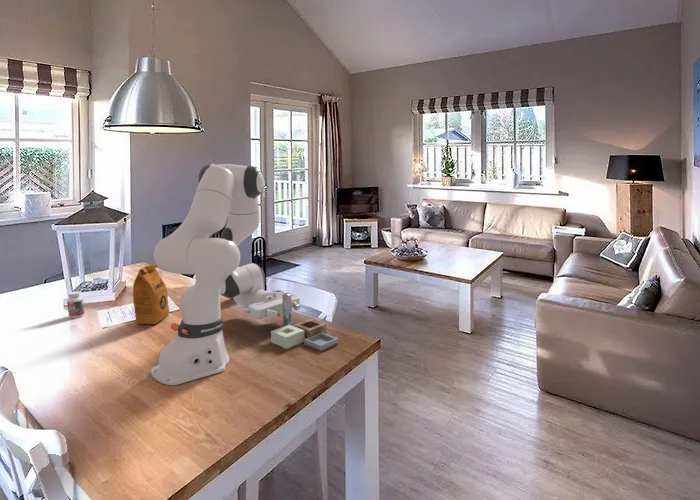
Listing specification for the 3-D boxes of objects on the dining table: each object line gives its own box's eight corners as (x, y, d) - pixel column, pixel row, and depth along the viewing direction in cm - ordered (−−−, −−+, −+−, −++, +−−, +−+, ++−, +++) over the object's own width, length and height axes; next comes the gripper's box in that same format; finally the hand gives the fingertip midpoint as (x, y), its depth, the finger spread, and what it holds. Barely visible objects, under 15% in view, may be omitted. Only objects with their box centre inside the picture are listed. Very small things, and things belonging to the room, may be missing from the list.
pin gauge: (287, 334, 161) (286, 296, 158) (281, 331, 163) (280, 294, 160) (294, 331, 163) (293, 294, 161) (288, 329, 166) (287, 292, 163)
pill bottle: (68, 319, 177) (65, 295, 175) (69, 315, 182) (66, 291, 180) (84, 317, 180) (81, 293, 178) (85, 313, 184) (82, 289, 182)
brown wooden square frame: (309, 341, 154) (309, 330, 154) (294, 335, 160) (293, 324, 159) (326, 334, 160) (326, 324, 159) (311, 329, 165) (310, 318, 165)
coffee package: (174, 315, 181) (169, 261, 176) (156, 327, 169) (150, 269, 164) (151, 314, 182) (145, 261, 178) (131, 325, 170) (125, 268, 166)
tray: (320, 351, 147) (320, 345, 146) (304, 344, 152) (304, 339, 151) (338, 343, 152) (337, 338, 152) (321, 337, 158) (321, 332, 157)
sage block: (286, 348, 149) (286, 337, 148) (271, 342, 154) (270, 331, 153) (304, 341, 155) (304, 330, 154) (289, 335, 160) (288, 324, 159)
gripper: (240, 301, 162) (264, 309, 153) (285, 289, 177) (309, 296, 168) (241, 318, 163) (265, 327, 154) (285, 304, 178) (309, 312, 169)
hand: (288, 310), depth 161 cm, fingers open, 8 cm apart
